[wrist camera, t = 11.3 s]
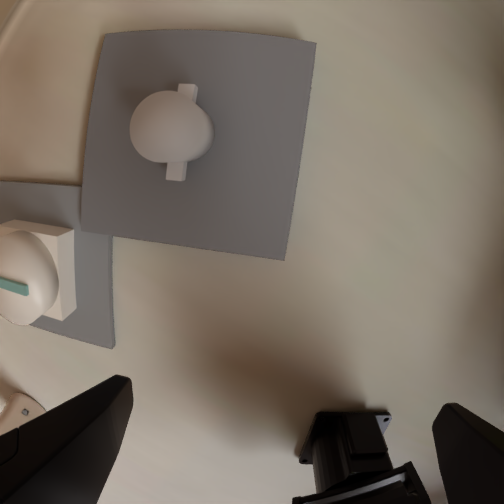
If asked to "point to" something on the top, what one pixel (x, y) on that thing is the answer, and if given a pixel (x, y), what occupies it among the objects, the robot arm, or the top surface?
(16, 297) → the cream domed square block
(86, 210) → the plinth
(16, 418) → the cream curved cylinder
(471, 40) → the top surface
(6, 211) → the mat
